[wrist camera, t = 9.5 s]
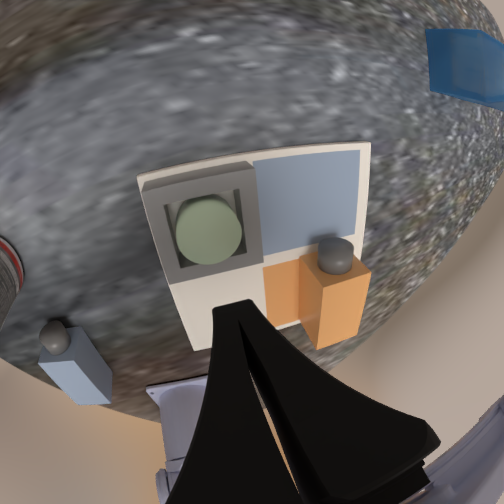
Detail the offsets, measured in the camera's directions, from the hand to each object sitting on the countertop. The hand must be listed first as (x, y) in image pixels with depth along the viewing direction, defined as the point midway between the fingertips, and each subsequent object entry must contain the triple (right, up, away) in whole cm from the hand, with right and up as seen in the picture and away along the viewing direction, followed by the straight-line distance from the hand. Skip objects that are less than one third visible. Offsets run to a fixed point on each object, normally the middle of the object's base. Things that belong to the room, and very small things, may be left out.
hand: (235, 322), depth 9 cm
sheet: (+2, +2, +11) cm, 12 cm away
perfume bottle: (+19, +20, +6) cm, 28 cm away
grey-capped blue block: (-16, -7, +11) cm, 21 cm away
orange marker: (+6, 0, +14) cm, 15 cm away
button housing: (-2, +5, +8) cm, 9 cm away
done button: (-2, +4, +7) cm, 9 cm away
